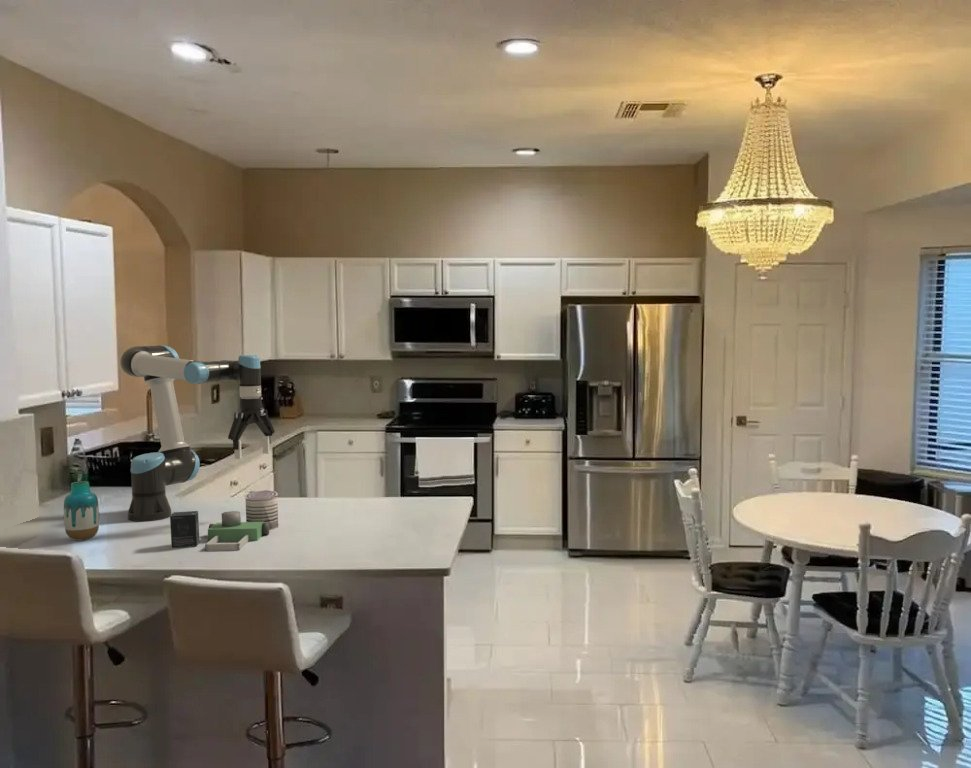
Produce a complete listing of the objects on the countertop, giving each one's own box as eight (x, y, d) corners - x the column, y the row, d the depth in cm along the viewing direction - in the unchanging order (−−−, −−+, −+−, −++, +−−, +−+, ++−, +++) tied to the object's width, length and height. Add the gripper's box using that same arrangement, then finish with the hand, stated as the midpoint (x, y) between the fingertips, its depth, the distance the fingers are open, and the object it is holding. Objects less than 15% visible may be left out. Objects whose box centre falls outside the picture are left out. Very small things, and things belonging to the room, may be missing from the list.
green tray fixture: (191, 551, 262) (190, 525, 262) (212, 534, 284) (211, 511, 283) (253, 549, 262) (252, 524, 262) (269, 533, 284) (269, 509, 284)
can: (285, 524, 297) (284, 491, 296) (267, 532, 286) (265, 497, 285) (257, 522, 300) (256, 489, 300) (238, 530, 290) (237, 495, 289)
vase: (77, 544, 273) (74, 486, 272) (58, 540, 279) (55, 483, 277) (106, 537, 282) (104, 481, 281) (88, 534, 288) (85, 478, 286)
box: (199, 542, 273) (198, 510, 273) (196, 546, 268) (195, 514, 267) (174, 543, 272) (173, 511, 271) (171, 548, 266) (169, 515, 266)
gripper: (231, 400, 290) (233, 461, 291) (283, 395, 312) (284, 452, 313) (216, 400, 294) (218, 460, 295) (268, 394, 315) (270, 450, 317)
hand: (252, 456), depth 304 cm, fingers open, 13 cm apart
